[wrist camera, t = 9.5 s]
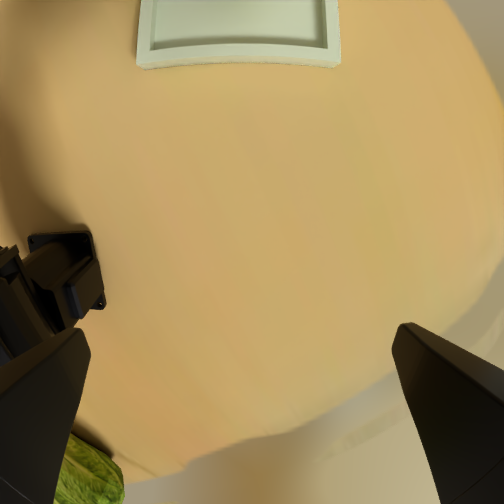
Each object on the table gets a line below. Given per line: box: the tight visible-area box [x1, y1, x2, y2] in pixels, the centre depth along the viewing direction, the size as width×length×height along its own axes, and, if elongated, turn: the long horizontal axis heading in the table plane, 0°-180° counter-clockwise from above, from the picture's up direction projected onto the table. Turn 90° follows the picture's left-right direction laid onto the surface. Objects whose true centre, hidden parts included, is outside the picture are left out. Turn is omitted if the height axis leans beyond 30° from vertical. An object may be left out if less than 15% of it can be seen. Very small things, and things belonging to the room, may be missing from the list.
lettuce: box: [53, 433, 125, 504], centre depth 24 cm, size 15×24×15 cm
